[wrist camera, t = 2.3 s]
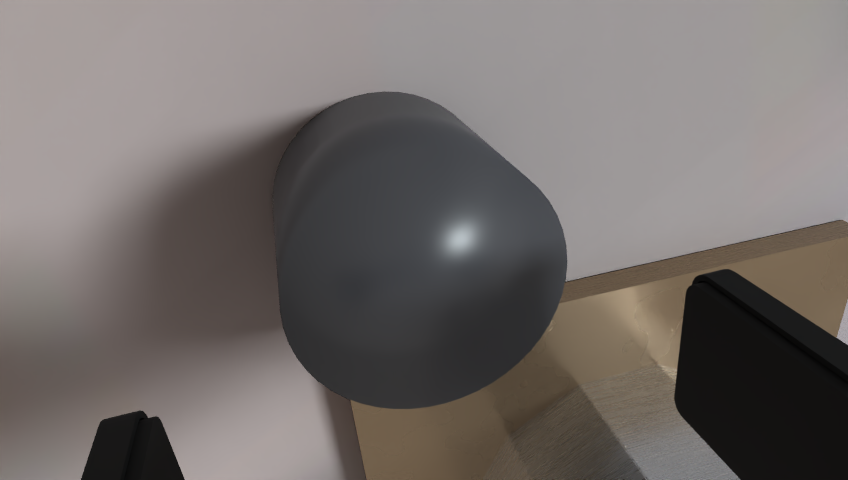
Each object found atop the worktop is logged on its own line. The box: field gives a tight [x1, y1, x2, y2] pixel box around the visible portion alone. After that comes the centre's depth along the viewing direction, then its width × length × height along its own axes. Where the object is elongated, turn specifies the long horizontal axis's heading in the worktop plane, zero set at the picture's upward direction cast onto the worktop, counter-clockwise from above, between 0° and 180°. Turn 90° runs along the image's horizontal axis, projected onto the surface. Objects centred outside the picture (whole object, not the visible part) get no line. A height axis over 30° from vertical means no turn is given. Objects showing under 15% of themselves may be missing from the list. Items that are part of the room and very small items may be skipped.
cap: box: [272, 92, 567, 409], centre depth 14 cm, size 6×6×5 cm
